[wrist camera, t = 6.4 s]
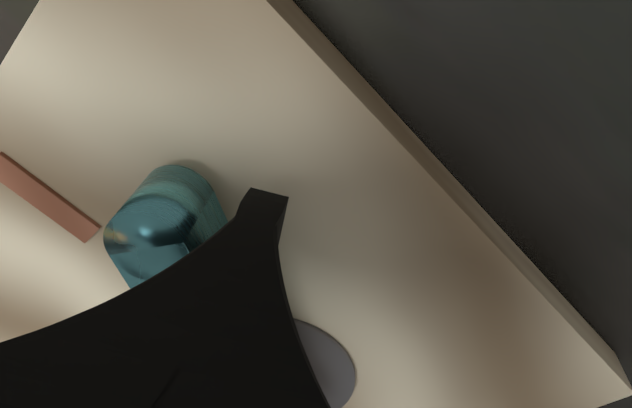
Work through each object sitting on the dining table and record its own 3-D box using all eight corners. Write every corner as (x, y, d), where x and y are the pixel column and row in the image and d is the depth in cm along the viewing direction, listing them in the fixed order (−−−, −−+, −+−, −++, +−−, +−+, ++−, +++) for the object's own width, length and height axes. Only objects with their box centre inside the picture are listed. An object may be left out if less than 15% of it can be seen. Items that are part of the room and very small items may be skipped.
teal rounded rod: (321, 404, 15) (313, 466, 14) (252, 408, 16) (236, 469, 14) (210, 155, 11) (178, 203, 9) (120, 175, 11) (74, 223, 10)
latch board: (277, 488, 23) (269, 527, 21) (-93, 253, 17) (-137, 286, 16) (615, 352, 15) (638, 400, 14) (162, -142, 10) (122, -148, 8)
